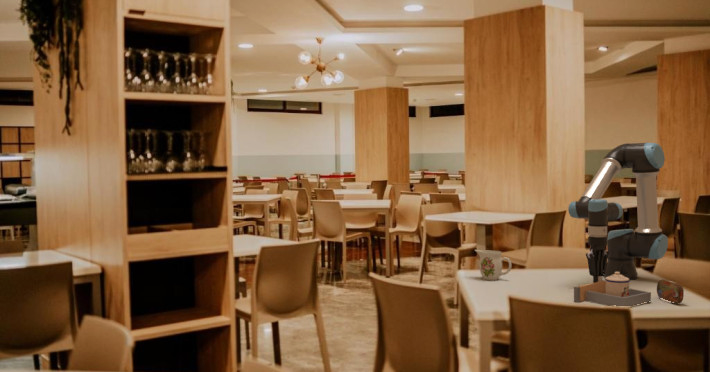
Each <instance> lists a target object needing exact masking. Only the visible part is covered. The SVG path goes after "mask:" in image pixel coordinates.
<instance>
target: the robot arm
mask: <svg viewBox="0 0 710 372" xmlns="http://www.w3.org/2000/svg"><path fill="white" fill-rule="evenodd" d="M665 160H666V159H665V153H664V149H663V148H662V146H661V145H660V144H658V143H657V142H638V143H637V142H636V143H634V142H633V143H628V142H627V143H621V144H620V145H617V146H616V147H614V148H613V149H611V150H610V151H609V152H608V153H607V154H606V155H605V156H604V157H603V158H602V160H601V162H600V168H599V169H598V171H597V172H596V173H595V174H594V177H593V178H592V179H591V181H590V182H589V184H588V185H587V188H586V189H585V190H584V192H583V193H582V194H581V196H580V198H579V199H578V200H575V201H571V202H570V203H569V205H568V207H567V208H568V210H567V211H568V214H569V216H570V217H571V218H573V219H584V220H588V221H587V222H588V224H587V225H588V226H587V231H588V232H587V234H588V238H587V240H588V241H587V243H588V245H589V246H590V248H589V252H586V253H585V256H586V259H587V265H588V273H589V275H590V276H591V277H592V278H593V279H592V280H593V281H592V283H595V282H600V281H603V278H606V277H608V276H611V275H613V274H615V272H620V274H621V275H623V276H624V277H627V278H629V280H636V279H638V276H639V275H638V272H637V271H638V270H637V268H636V265H635V262H634V261H635V260H634V258H640V259H648V260H660V259H662V258H663V257H664V256H665V254H666V252H667V251H668V245H669V240H668V236H667V235H665V234H664V233H663V229H662V228H661V227H659V214H658V213H659V211H658V210H659V209H658V190H657V189H658V188H657V187H658V185H657V175H658V174H659V173H660V170H661V169H662V168H663V167H664V165H665ZM624 169H631V173H632V174H633V175H634V176H635V185H636V186H635V191H636V208H637V211H636V212H637V227H636V228H635V229H633V228H625V229H615V230H610V231H608V221H616V220H618V219H620V218H621V217H622V216H623V214H624V208H623V207H622V205H621V203H618V202H614V201H613V202H608V201H607V200H606V199H602V197H603V196H604V194H605V192H606V191H607V189H608V188H609V186H610V184H611V183H612V182H613V180H614V178H615V176H616V175H618V174H620V172H622V170H624ZM606 246H607V250H606Z"/></svg>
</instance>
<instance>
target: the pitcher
mask: <svg viewBox="0 0 710 372" xmlns="http://www.w3.org/2000/svg"><path fill="white" fill-rule="evenodd" d="M474 252H476V253H477V254H478V256H479V262H478V263H479V264H478V266H479V272H480V275H481V278H482V279H483V280H485V281H498V280H499V278H500V276H505V275H507V274H509V273H510V272H511V270H512V261H511V259H510V258H509V257H506V256H504V257H502V254H503V253H502V251H500V250H491V249H490V250H489V249H474ZM503 261H507V262H508V268H507V269H506V270H505V271H503ZM497 279H498V280H497Z"/></svg>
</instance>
